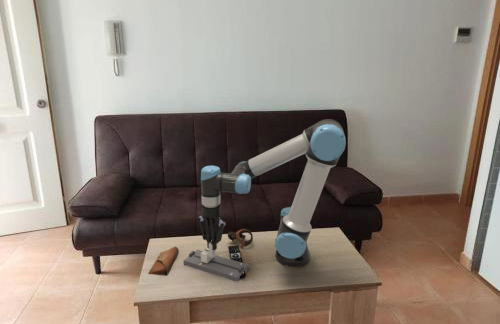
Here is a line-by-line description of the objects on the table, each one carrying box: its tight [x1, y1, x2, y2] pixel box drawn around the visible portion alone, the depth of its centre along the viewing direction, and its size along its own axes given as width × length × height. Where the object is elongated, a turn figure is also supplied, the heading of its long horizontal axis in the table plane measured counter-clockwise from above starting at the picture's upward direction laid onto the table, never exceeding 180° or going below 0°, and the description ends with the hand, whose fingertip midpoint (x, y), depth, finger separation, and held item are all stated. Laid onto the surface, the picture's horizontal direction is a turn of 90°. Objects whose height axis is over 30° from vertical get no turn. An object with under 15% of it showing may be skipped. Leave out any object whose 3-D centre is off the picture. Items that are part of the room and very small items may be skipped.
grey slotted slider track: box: [183, 249, 250, 283], centre depth 155 cm, size 26×10×3 cm, turn 63°
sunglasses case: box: [147, 246, 180, 276], centre depth 157 cm, size 18×7×7 cm
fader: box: [201, 248, 215, 263], centre depth 156 cm, size 3×6×4 cm, turn 153°
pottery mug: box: [227, 228, 254, 249], centre depth 173 cm, size 12×10×8 cm
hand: (212, 255), depth 154 cm, fingers closed
